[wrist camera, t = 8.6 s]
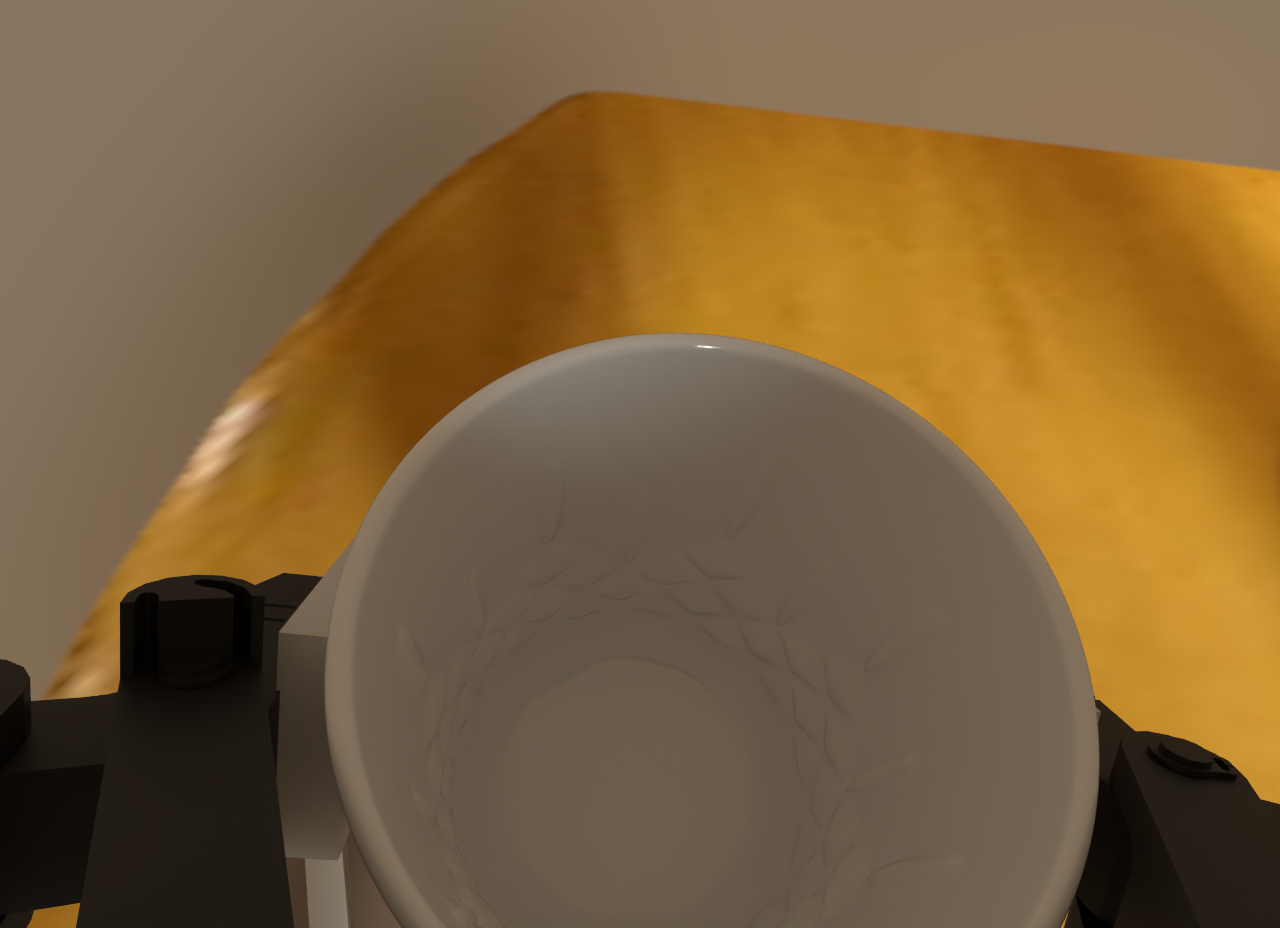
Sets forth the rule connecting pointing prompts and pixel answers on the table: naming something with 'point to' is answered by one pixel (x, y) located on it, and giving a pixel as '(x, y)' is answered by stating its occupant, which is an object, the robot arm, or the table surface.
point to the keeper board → (336, 893)
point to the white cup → (705, 660)
